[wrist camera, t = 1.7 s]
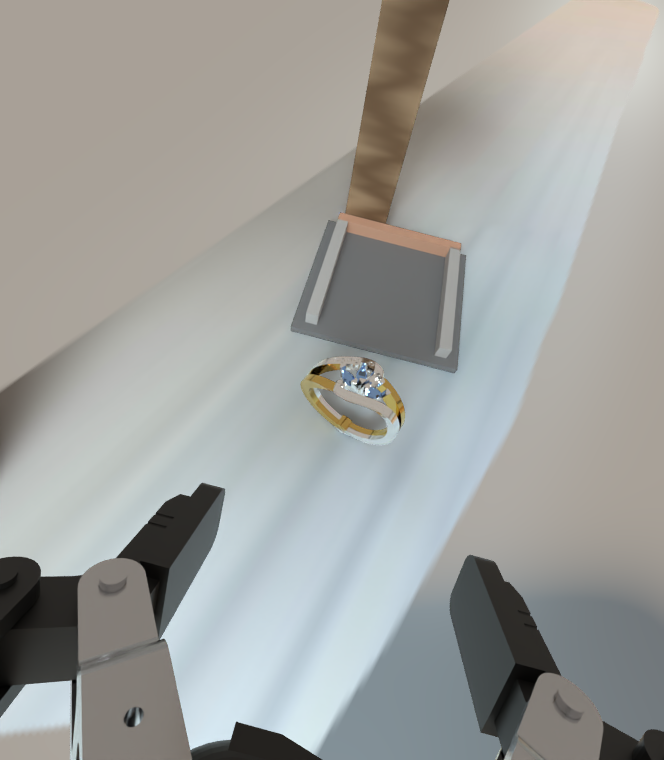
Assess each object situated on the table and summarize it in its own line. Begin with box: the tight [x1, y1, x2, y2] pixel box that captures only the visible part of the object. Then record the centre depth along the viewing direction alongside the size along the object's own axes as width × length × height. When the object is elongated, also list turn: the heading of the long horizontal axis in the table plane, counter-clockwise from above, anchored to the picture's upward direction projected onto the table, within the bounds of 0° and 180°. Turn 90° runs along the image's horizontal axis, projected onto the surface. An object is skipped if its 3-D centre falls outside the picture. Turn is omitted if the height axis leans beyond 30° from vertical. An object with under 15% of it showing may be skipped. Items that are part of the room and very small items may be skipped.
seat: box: [291, 212, 466, 373], centre depth 34 cm, size 14×14×2 cm
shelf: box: [345, 0, 449, 224], centre depth 26 cm, size 14×14×27 cm
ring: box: [301, 357, 405, 445], centre depth 25 cm, size 7×3×8 cm, turn 55°
